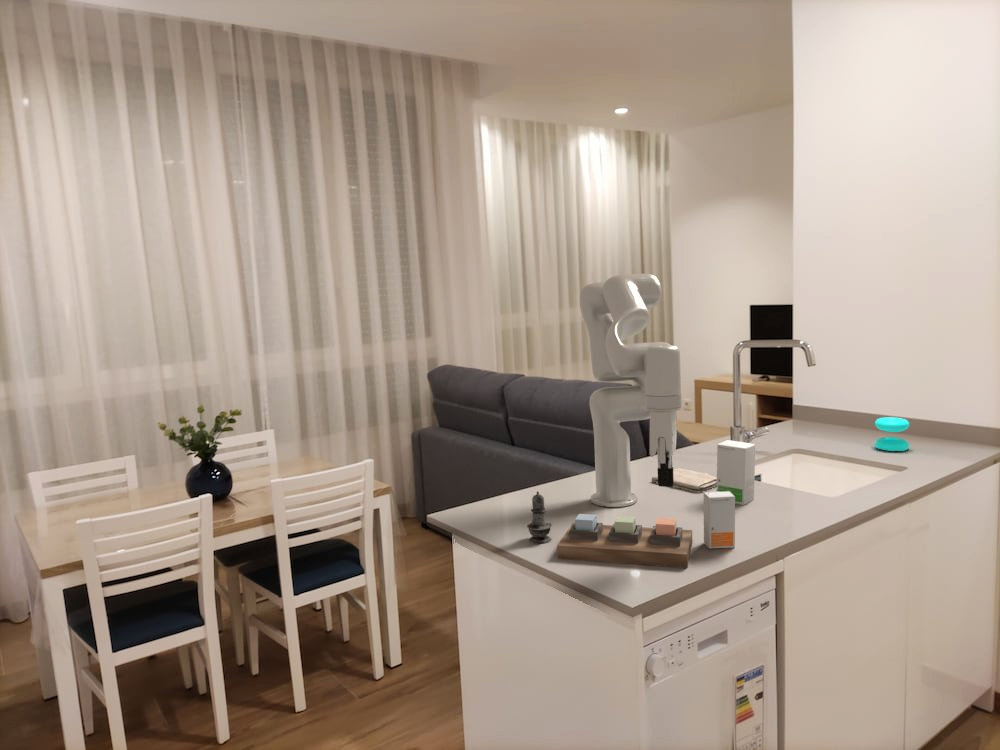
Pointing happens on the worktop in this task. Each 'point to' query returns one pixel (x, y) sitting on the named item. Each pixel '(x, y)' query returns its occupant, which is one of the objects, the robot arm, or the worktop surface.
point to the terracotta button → (666, 527)
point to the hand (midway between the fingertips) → (665, 485)
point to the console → (626, 546)
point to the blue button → (585, 522)
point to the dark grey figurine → (539, 522)
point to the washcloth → (691, 480)
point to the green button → (625, 524)
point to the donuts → (892, 426)
